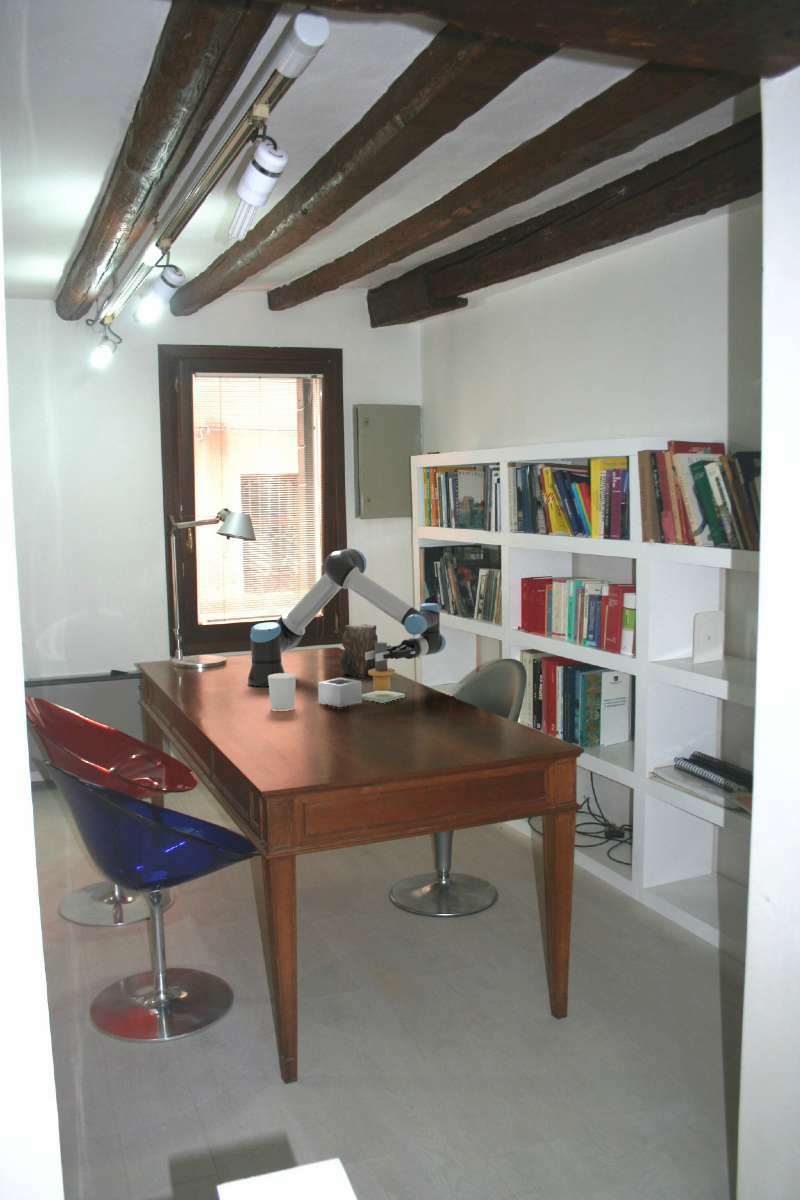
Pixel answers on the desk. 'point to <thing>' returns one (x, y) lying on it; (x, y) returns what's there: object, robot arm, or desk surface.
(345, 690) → the block
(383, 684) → the end cover
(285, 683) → the candle holder
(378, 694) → the mat
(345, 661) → the owl
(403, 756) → the desk surface
